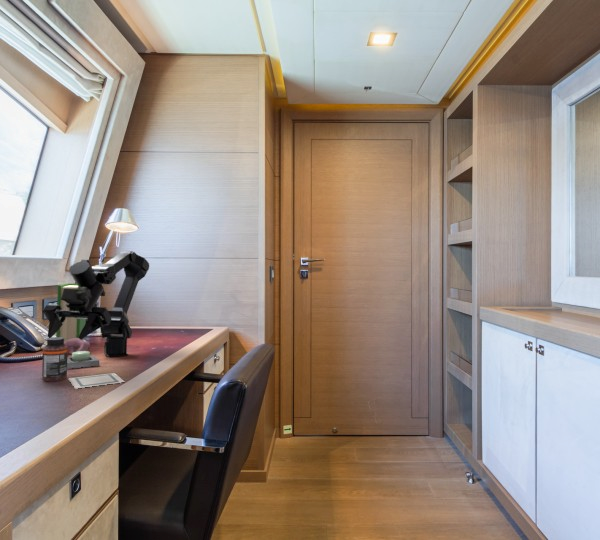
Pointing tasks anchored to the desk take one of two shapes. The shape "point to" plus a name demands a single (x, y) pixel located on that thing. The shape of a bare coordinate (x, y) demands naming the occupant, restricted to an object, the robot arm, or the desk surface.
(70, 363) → the button housing
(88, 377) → the paper sheet
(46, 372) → the supplement bottle
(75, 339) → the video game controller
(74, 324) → the hardback book
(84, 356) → the button
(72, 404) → the desk surface
